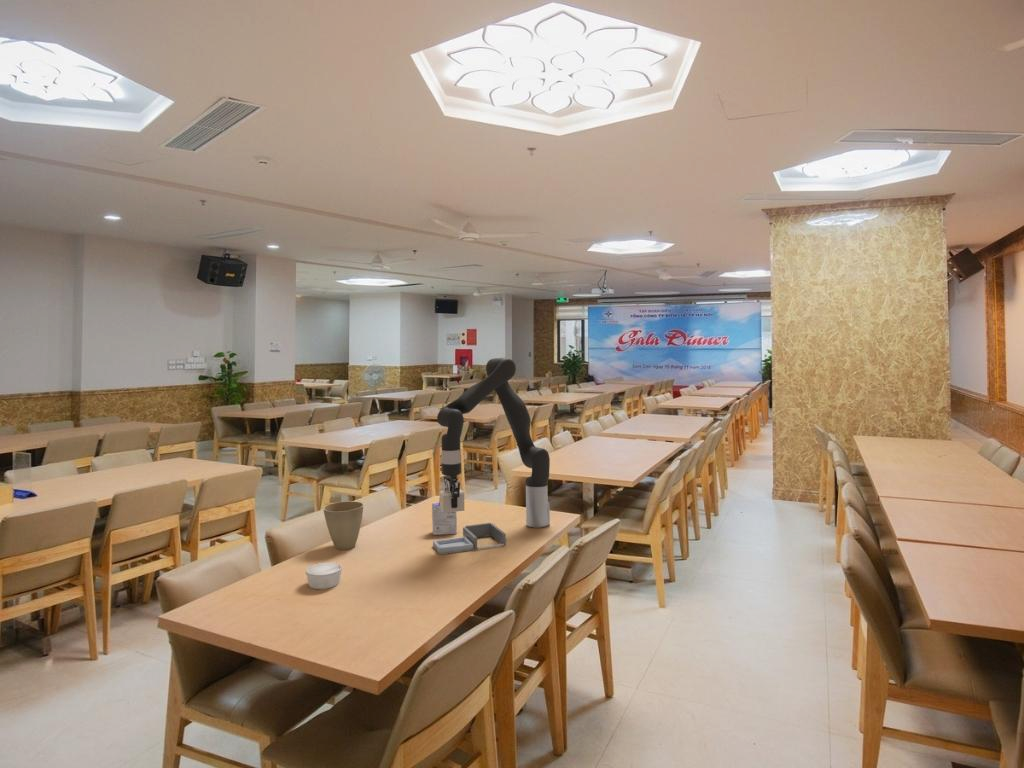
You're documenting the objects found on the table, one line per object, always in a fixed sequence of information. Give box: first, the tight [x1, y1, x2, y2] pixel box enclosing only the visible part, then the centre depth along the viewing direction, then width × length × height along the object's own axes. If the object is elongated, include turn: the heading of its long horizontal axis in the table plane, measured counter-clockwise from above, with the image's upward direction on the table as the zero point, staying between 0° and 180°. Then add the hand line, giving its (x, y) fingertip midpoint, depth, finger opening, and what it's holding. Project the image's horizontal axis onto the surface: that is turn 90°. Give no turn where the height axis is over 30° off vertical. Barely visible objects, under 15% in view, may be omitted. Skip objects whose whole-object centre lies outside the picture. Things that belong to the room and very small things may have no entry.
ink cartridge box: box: [431, 500, 458, 536], centre depth 242 cm, size 10×6×14 cm, turn 98°
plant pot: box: [322, 500, 364, 551], centre depth 226 cm, size 15×15×16 cm
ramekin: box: [305, 561, 343, 590], centre depth 191 cm, size 11×11×5 cm
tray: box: [432, 536, 475, 556], centre depth 223 cm, size 13×10×2 cm
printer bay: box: [462, 522, 507, 551], centre depth 230 cm, size 13×15×5 cm
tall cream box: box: [439, 488, 465, 513], centre depth 222 cm, size 8×5×7 cm, turn 112°
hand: (452, 505), depth 222 cm, fingers closed on tall cream box, 5 cm apart
